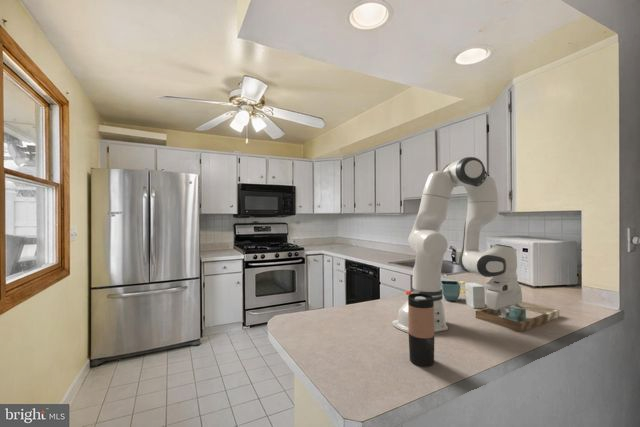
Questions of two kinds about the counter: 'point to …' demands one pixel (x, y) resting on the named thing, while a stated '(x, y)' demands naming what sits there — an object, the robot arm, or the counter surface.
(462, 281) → the watch
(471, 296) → the small box
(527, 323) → the striped wooden tray
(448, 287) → the flower pot
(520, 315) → the teal block
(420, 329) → the travel mug
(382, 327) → the counter surface
